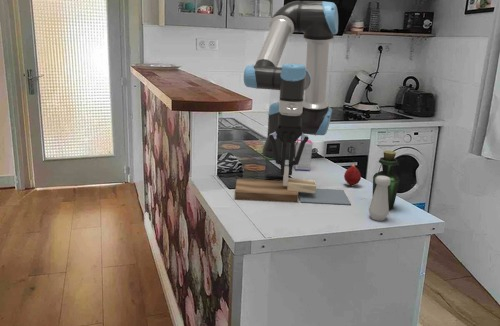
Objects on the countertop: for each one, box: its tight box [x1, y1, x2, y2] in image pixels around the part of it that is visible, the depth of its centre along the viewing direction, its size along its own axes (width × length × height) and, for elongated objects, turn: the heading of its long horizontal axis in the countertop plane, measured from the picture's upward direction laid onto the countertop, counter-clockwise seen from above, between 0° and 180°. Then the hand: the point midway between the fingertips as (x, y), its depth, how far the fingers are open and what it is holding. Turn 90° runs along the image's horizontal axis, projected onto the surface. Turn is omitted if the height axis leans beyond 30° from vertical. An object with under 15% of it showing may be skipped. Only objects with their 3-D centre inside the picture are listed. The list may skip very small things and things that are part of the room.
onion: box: [343, 164, 362, 187], centre depth 166 cm, size 6×6×8 cm
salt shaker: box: [368, 176, 390, 222], centre depth 137 cm, size 6×6×13 cm
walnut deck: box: [234, 178, 299, 204], centre depth 155 cm, size 14×20×2 cm
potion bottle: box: [371, 150, 401, 211], centre depth 146 cm, size 8×8×18 cm
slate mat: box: [298, 187, 352, 206], centre depth 155 cm, size 14×16×1 cm
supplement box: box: [293, 138, 313, 172], centre depth 184 cm, size 6×6×12 cm
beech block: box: [287, 177, 317, 193], centre depth 154 cm, size 6×9×2 cm, turn 89°
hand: (285, 184), depth 154 cm, fingers closed
